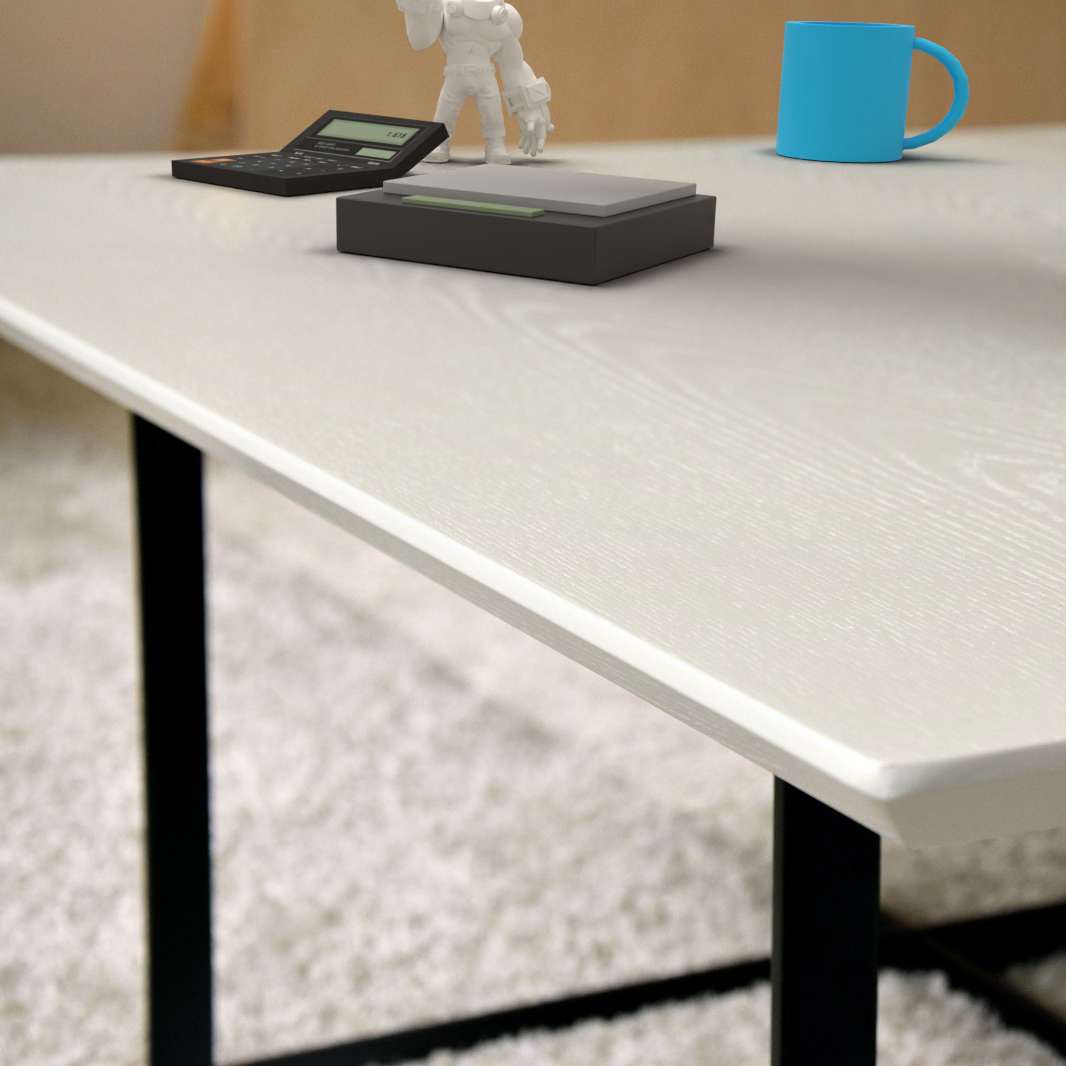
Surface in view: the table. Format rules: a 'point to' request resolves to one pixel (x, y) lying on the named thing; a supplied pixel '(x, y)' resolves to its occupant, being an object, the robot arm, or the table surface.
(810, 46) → the mug
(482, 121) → the figurine
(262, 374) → the table surface
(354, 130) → the calculator
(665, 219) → the scale
